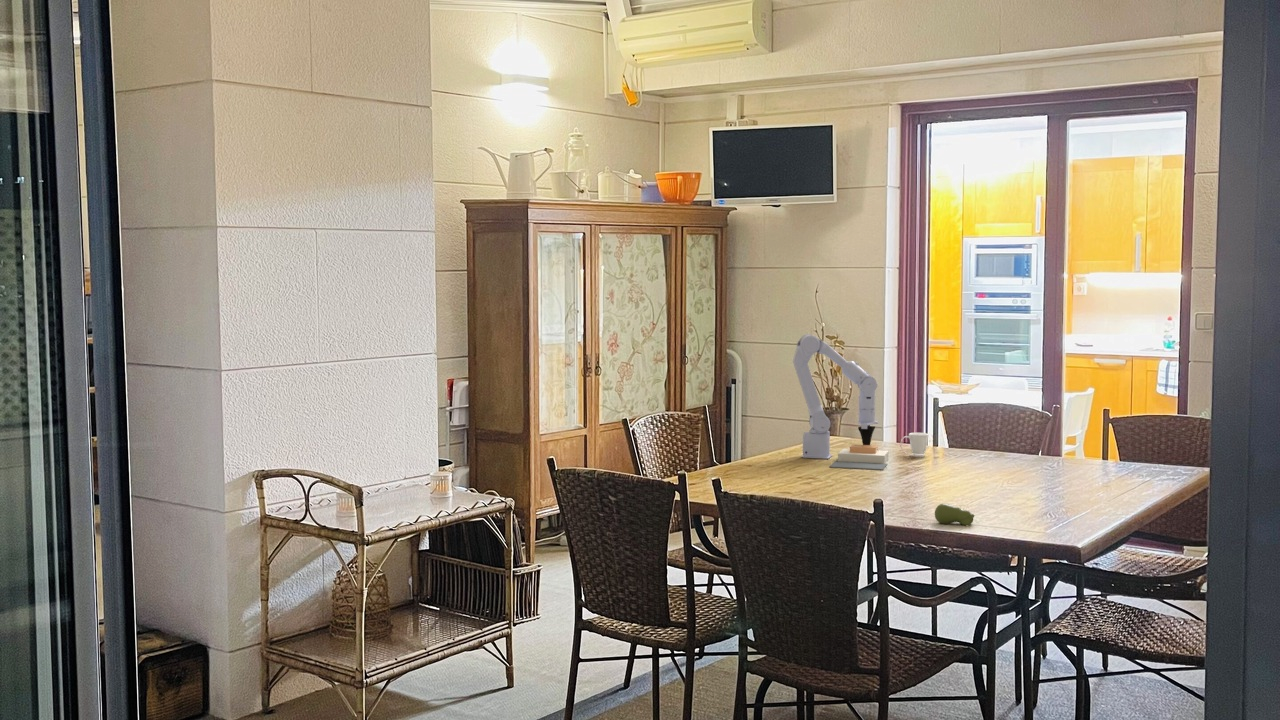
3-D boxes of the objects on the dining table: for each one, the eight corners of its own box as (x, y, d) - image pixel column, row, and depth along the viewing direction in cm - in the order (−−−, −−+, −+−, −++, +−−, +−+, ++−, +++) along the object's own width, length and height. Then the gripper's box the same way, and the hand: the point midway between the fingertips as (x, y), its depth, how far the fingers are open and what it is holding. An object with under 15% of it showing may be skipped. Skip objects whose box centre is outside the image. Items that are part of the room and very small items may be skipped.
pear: (936, 500, 309) (975, 508, 306) (933, 519, 309) (971, 527, 307) (936, 503, 303) (975, 512, 301) (932, 523, 304) (972, 531, 302)
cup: (929, 457, 417) (929, 435, 416) (900, 457, 419) (900, 434, 418) (927, 454, 424) (928, 432, 423) (899, 454, 425) (899, 432, 425)
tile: (849, 452, 409) (849, 446, 409) (852, 450, 415) (852, 444, 415) (875, 453, 407) (875, 447, 406) (877, 451, 412) (877, 445, 412)
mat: (829, 467, 395) (829, 466, 395) (834, 462, 407) (834, 461, 407) (883, 470, 390) (883, 469, 390) (887, 464, 401) (887, 463, 401)
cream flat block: (837, 462, 407) (838, 453, 407) (843, 457, 418) (843, 448, 418) (884, 464, 402) (884, 455, 402) (888, 459, 413) (888, 450, 413)
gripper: (875, 411, 409) (875, 450, 410) (880, 407, 422) (880, 444, 423) (855, 410, 411) (855, 449, 412) (861, 406, 425) (860, 443, 426)
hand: (866, 446), depth 418 cm, fingers closed
